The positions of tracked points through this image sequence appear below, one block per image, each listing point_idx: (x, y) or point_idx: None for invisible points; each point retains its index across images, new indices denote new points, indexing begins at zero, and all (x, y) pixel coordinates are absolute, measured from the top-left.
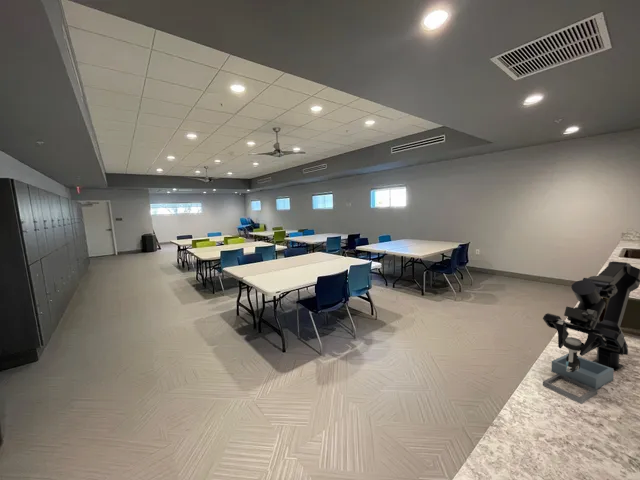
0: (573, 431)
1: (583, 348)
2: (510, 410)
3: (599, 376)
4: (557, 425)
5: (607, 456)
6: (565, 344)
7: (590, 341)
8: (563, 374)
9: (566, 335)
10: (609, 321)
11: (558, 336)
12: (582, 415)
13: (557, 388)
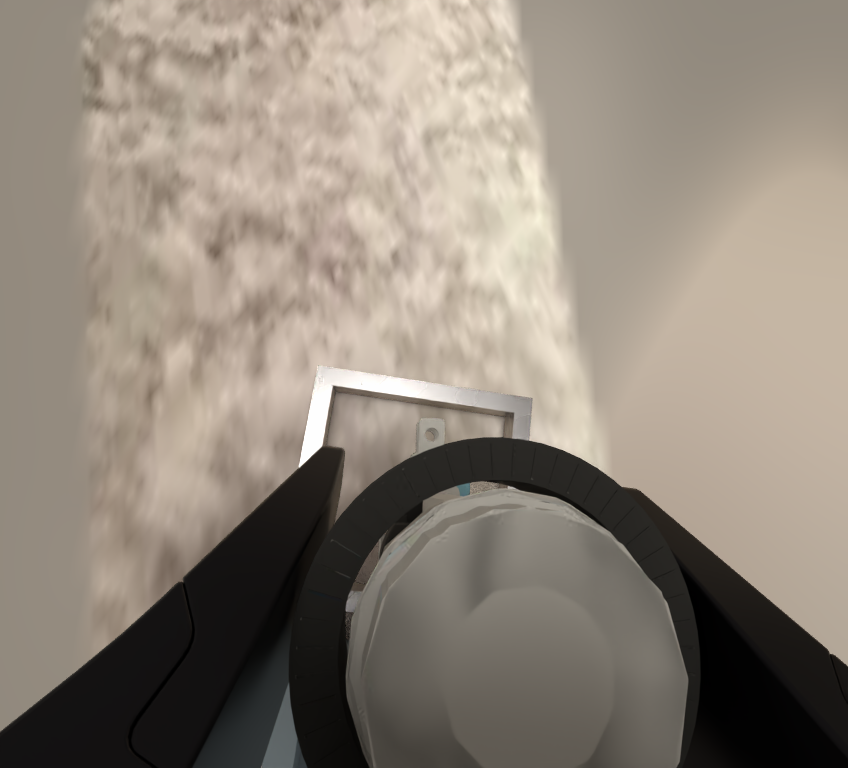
0: (292, 104)
1: (288, 512)
2: (516, 54)
3: (268, 756)
4: (350, 96)
5: (164, 44)
6: (576, 484)
7: (66, 741)
8: None
9: None
10: None
11: (820, 645)
12: (293, 262)
13: (447, 387)
